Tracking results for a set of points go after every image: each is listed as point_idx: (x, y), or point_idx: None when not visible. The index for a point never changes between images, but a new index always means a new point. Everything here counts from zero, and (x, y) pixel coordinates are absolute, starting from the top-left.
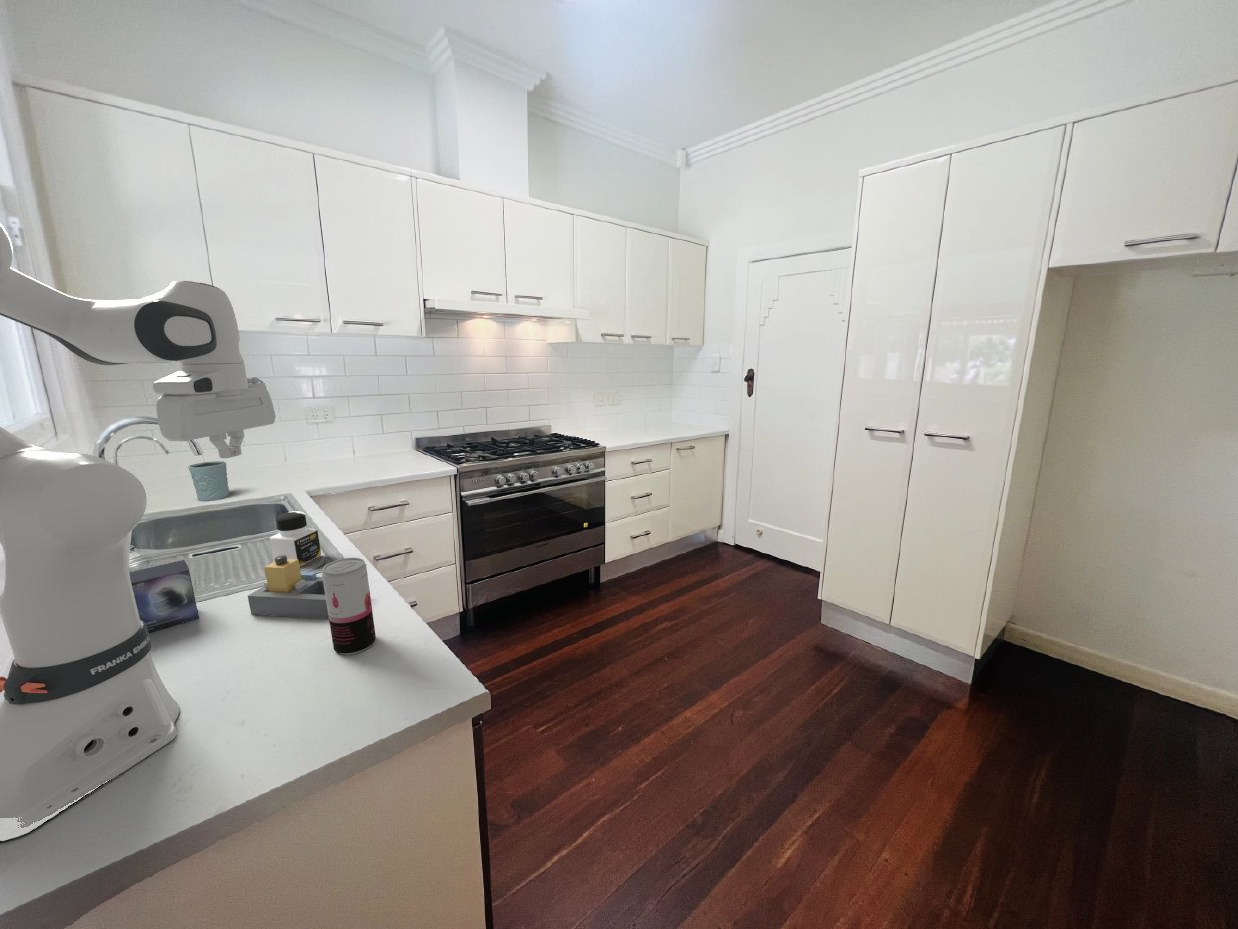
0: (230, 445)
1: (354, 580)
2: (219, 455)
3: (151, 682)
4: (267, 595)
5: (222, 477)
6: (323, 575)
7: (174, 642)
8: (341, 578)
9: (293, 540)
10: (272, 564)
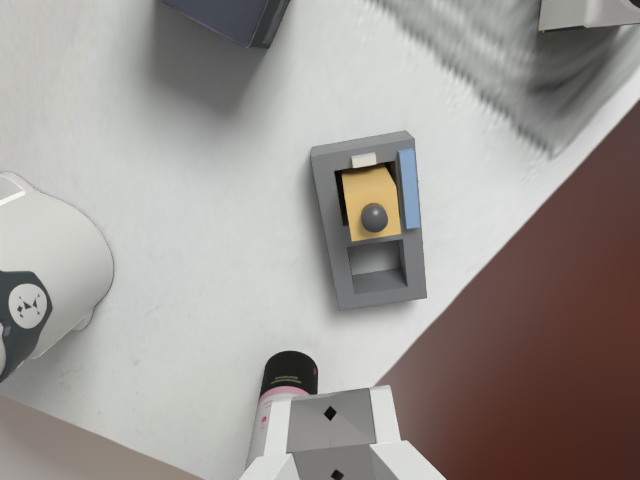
0: (374, 462)
1: None
2: (272, 408)
3: (37, 357)
4: (323, 196)
5: None
6: (246, 469)
7: (194, 102)
8: None
9: (584, 23)
10: (361, 201)
